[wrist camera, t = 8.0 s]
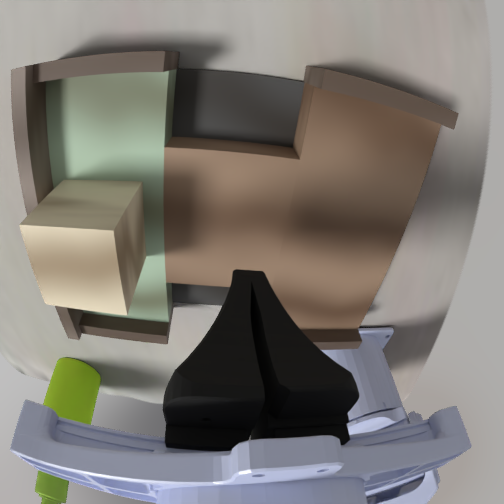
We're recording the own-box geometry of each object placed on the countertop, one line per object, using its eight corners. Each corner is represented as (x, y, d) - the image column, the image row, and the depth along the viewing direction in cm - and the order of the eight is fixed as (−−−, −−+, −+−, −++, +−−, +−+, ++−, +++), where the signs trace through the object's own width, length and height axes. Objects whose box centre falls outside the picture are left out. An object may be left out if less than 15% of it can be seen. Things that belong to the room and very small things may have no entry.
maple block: (146, 256, 19) (127, 315, 15) (75, 250, 18) (45, 303, 14) (142, 181, 16) (113, 230, 12) (63, 179, 15) (19, 224, 11)
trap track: (346, 315, 27) (360, 355, 23) (84, 298, 24) (68, 338, 20) (423, 99, 16) (465, 116, 12) (54, 61, 13) (11, 69, 9)
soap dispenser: (46, 365, 30) (9, 508, 14) (71, 352, 28) (31, 521, 12) (81, 389, 33) (55, 525, 17) (110, 379, 32) (85, 537, 15)
